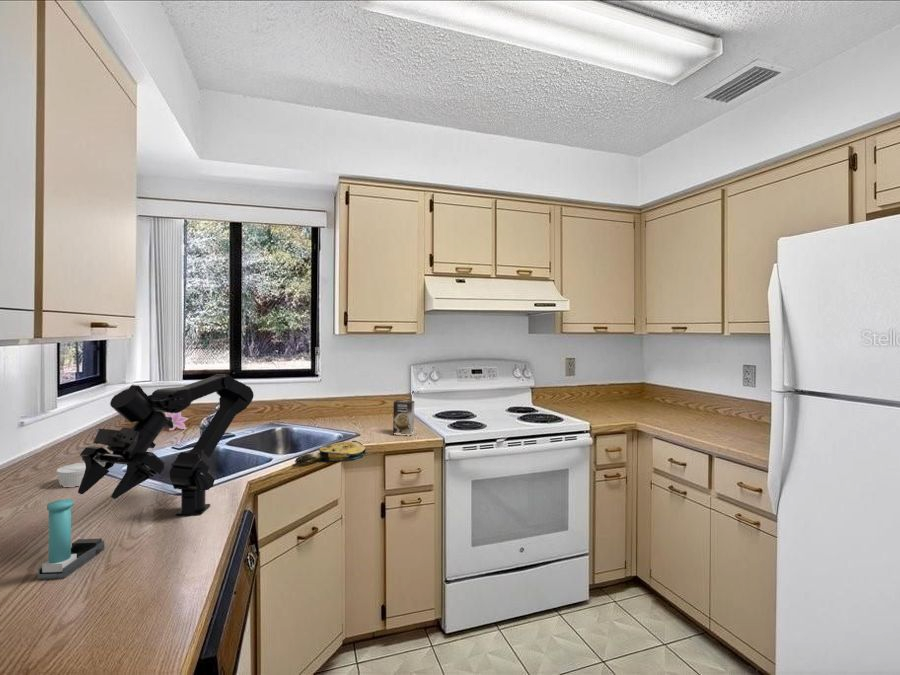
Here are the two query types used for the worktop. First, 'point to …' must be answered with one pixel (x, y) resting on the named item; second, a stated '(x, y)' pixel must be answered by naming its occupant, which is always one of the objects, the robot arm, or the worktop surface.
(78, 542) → the track
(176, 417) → the lily
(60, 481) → the ramekin
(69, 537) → the teal tall cylinder
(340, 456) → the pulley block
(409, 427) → the coffee box
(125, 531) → the worktop surface
